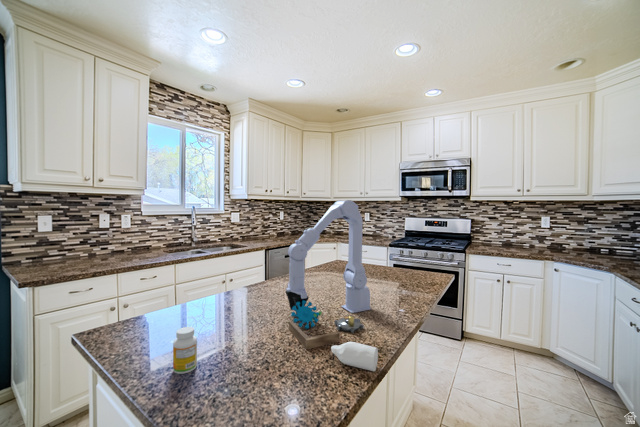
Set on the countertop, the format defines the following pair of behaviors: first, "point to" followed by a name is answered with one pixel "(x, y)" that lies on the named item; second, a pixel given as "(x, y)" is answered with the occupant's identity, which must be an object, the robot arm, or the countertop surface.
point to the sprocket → (349, 324)
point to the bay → (313, 341)
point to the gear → (305, 314)
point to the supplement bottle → (185, 351)
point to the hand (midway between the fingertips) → (296, 312)
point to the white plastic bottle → (357, 355)
